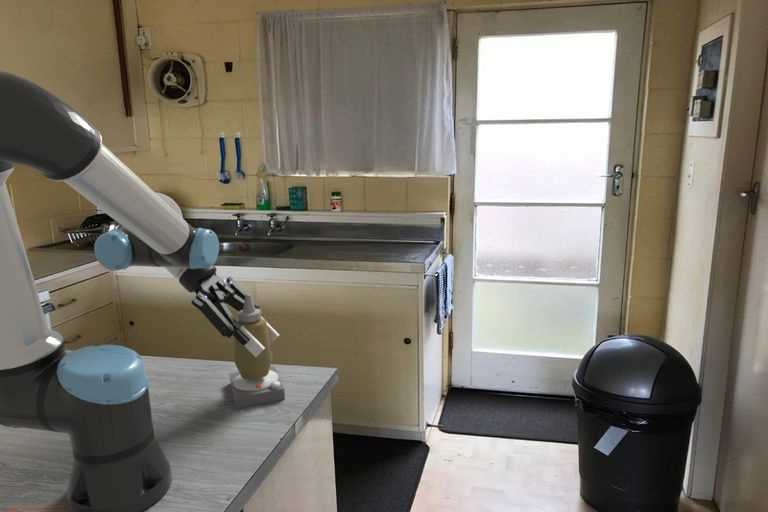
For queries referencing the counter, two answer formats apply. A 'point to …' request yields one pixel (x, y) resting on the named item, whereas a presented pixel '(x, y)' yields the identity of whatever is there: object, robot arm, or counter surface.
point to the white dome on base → (256, 389)
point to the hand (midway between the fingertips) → (267, 345)
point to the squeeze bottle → (257, 327)
